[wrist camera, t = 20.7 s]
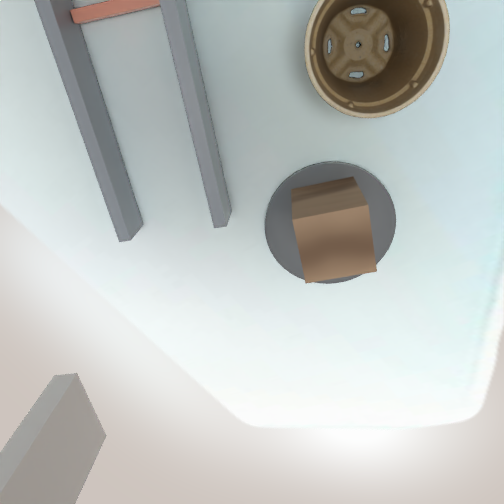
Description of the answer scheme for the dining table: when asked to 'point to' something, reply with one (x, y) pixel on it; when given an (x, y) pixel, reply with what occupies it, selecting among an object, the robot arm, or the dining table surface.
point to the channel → (96, 116)
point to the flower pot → (375, 53)
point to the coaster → (281, 206)
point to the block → (333, 230)
